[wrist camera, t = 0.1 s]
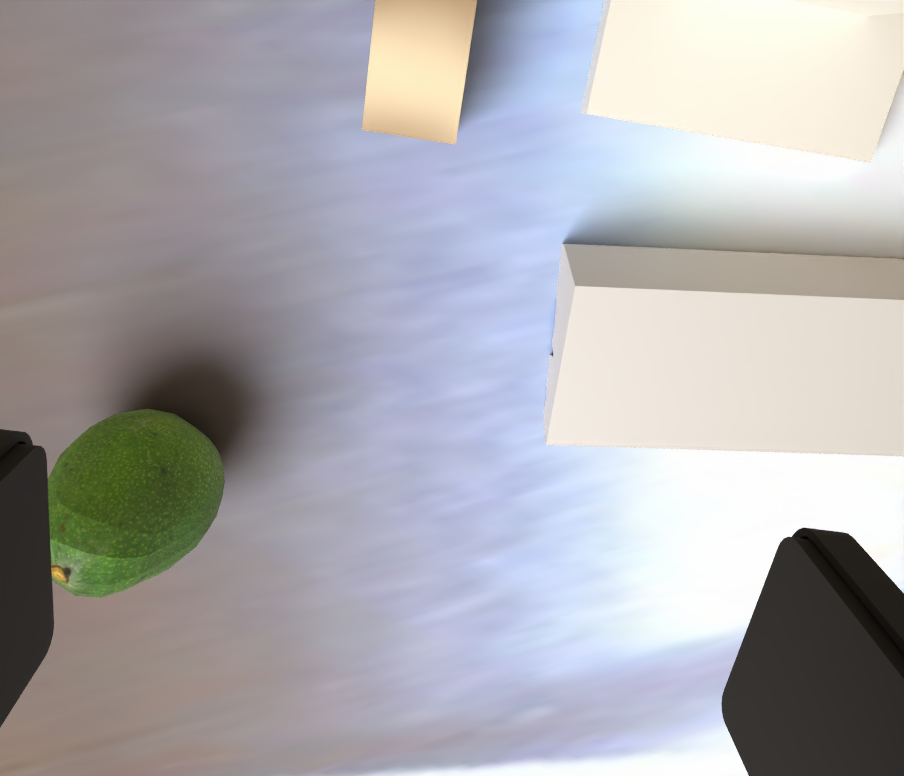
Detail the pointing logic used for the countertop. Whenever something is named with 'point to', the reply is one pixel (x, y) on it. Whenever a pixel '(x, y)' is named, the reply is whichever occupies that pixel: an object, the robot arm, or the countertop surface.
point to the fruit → (130, 501)
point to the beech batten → (418, 67)
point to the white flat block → (727, 351)
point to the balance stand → (752, 69)
